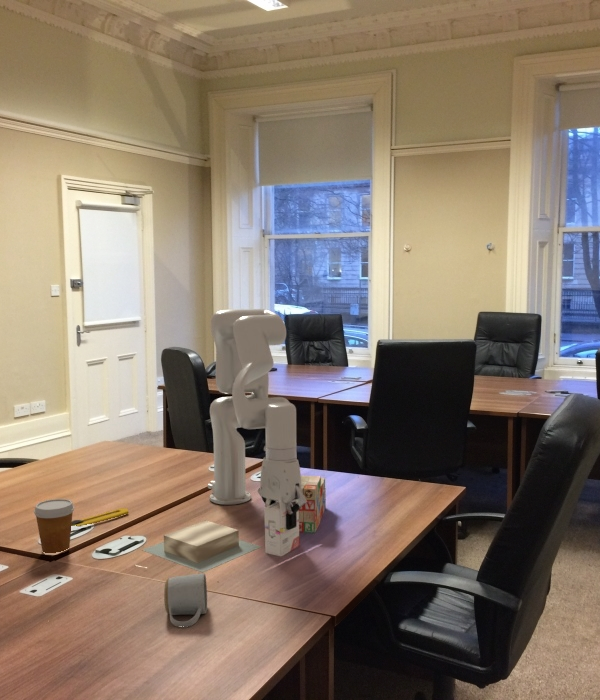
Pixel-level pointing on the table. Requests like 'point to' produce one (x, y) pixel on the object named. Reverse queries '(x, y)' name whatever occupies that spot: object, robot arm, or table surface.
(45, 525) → the disposable coffee cup
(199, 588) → the ceramic mug
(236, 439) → the robot arm
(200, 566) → the mat
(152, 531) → the table surface
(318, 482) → the stack of blocks
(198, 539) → the base block
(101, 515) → the utility knife
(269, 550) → the ink cartridge box
